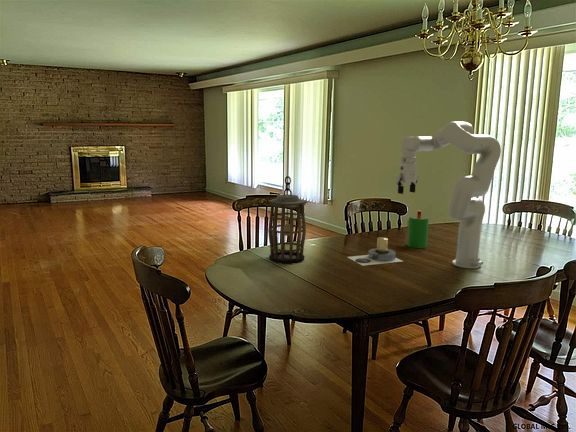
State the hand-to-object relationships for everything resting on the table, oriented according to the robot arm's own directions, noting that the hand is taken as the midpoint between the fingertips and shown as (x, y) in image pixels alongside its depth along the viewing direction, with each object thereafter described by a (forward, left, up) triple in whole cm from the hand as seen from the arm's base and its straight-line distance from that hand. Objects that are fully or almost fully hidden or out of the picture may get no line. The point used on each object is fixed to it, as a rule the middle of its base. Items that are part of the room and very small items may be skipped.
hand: (406, 192), depth 241 cm
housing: (-19, +26, -28) cm, 43 cm away
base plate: (-20, +31, -29) cm, 47 cm away
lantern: (-4, +69, -29) cm, 75 cm away
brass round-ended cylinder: (-19, +26, -28) cm, 43 cm away
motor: (-3, -7, -29) cm, 30 cm away
